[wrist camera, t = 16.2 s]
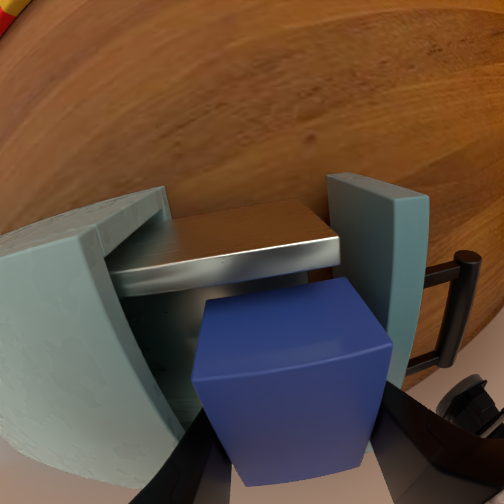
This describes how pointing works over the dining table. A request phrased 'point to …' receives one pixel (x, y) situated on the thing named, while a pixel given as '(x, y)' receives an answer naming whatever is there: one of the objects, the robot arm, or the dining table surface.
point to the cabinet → (79, 348)
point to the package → (292, 379)
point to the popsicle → (10, 12)
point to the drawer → (288, 273)
